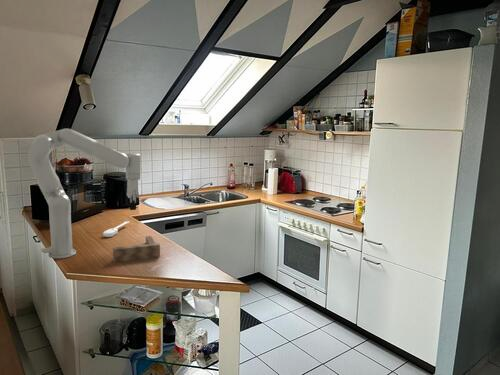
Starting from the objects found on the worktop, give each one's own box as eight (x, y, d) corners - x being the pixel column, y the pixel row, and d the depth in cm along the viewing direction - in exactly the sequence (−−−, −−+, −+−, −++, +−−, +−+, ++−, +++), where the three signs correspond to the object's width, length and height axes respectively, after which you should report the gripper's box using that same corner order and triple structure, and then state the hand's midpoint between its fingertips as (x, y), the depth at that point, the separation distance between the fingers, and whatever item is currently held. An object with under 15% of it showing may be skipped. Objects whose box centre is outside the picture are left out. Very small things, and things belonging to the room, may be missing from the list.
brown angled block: (113, 262, 185) (113, 249, 184) (109, 246, 209) (109, 234, 208) (159, 257, 194) (159, 244, 193) (151, 241, 218) (151, 230, 216)
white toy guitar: (124, 225, 250) (124, 220, 250) (132, 225, 249) (132, 221, 249) (100, 237, 223) (100, 232, 223) (110, 238, 222) (109, 233, 222)
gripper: (124, 174, 213) (124, 207, 216) (127, 178, 199) (127, 212, 202) (138, 174, 216) (138, 206, 219) (142, 178, 202) (141, 212, 205)
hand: (132, 209), depth 210 cm, fingers closed
